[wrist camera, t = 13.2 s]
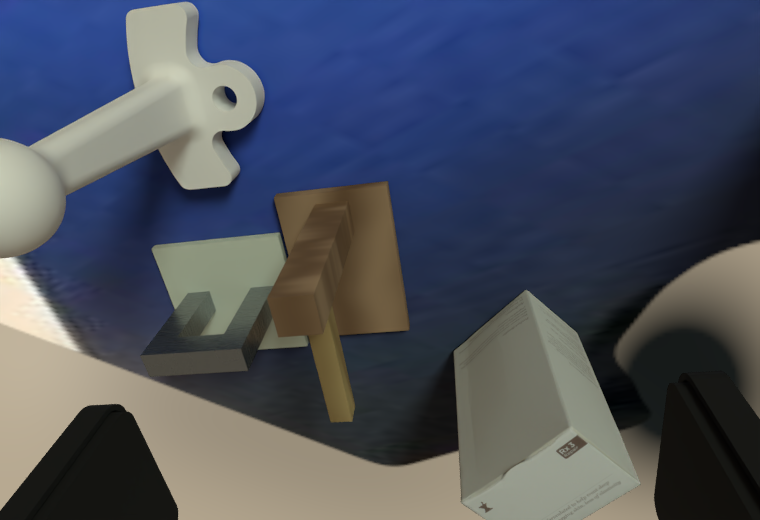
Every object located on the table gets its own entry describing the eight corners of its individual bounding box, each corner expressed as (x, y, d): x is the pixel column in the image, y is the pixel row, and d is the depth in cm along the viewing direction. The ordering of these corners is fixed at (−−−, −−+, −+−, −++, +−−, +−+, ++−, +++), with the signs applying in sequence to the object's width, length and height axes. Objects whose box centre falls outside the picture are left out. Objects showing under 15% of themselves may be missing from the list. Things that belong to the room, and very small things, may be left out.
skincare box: (501, 387, 45) (528, 559, 32) (448, 347, 43) (454, 509, 30) (582, 327, 41) (649, 493, 28) (527, 281, 40) (571, 433, 27)
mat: (279, 232, 40) (277, 236, 39) (308, 341, 44) (307, 346, 44) (155, 245, 41) (151, 248, 41) (195, 349, 46) (192, 354, 45)
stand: (387, 181, 37) (366, 275, 26) (409, 326, 43) (400, 456, 31) (276, 193, 38) (209, 289, 27) (312, 333, 44) (269, 461, 32)
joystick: (127, 10, 33) (-213, 58, 16) (243, -8, 32) (16, 22, 15) (182, 180, 38) (-29, 357, 21) (284, 169, 37) (151, 347, 20)
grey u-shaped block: (272, 285, 41) (240, 348, 34) (278, 305, 42) (248, 370, 35) (187, 293, 42) (140, 355, 35) (194, 312, 43) (149, 376, 36)
